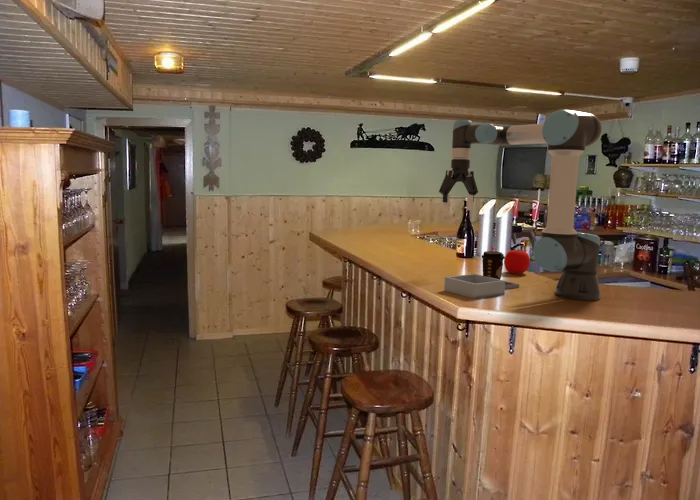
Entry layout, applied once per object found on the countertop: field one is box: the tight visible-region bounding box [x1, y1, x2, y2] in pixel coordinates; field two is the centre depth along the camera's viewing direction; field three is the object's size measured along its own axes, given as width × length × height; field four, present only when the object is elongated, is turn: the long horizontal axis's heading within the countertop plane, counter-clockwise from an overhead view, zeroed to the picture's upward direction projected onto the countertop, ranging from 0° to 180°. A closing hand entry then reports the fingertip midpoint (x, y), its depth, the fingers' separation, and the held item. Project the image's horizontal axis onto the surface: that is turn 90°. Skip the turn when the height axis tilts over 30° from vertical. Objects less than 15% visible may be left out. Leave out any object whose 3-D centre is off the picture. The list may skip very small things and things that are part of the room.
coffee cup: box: [481, 250, 506, 280], centre depth 209 cm, size 9×8×13 cm
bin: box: [443, 273, 506, 300], centre depth 196 cm, size 15×15×5 cm
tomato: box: [503, 248, 531, 275], centre depth 238 cm, size 10×11×11 cm
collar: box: [504, 280, 520, 290], centre depth 210 cm, size 15×15×1 cm
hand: (457, 210), depth 227 cm, fingers open, 13 cm apart
